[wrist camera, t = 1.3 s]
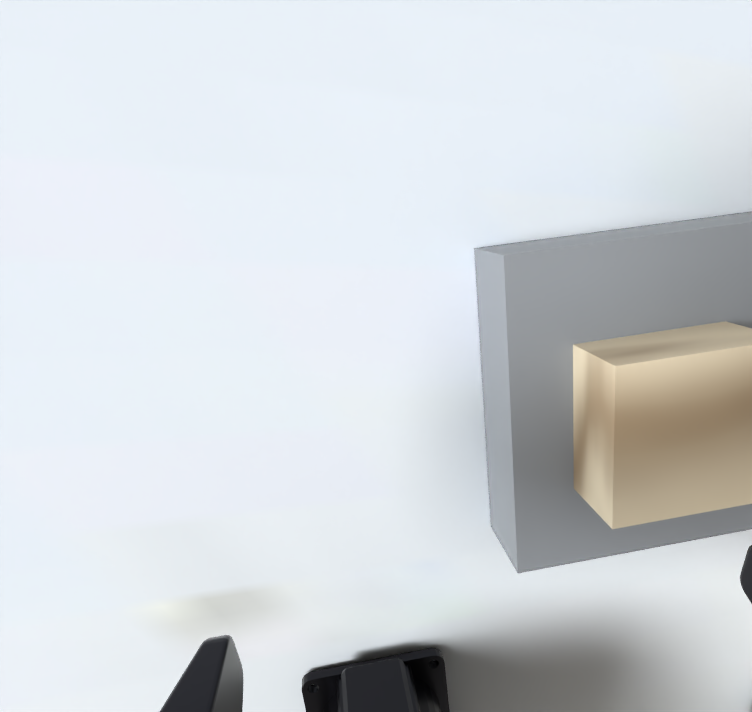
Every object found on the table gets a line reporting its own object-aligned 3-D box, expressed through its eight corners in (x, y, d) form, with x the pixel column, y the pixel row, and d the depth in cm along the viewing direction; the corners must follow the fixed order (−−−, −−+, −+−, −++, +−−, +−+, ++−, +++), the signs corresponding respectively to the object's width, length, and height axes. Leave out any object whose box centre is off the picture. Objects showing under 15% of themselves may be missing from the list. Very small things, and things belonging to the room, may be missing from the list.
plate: (785, 473, 23) (851, 510, 21) (491, 526, 22) (517, 573, 19) (820, 202, 20) (905, 201, 17) (474, 248, 19) (503, 255, 16)
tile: (713, 463, 19) (770, 499, 17) (573, 488, 19) (612, 529, 16) (725, 321, 18) (790, 339, 15) (572, 344, 17) (615, 366, 15)
